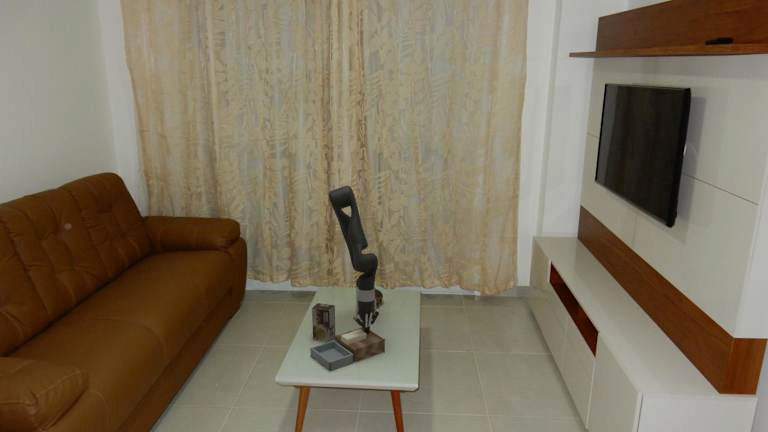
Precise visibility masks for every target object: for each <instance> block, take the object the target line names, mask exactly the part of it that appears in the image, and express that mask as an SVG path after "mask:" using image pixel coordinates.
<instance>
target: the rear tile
mask: <svg viewBox="0 0 768 432" xmlns="http://www.w3.org/2000/svg"><path fill="white" fill-rule="evenodd" d="M351 333H352V334H354V335H355V336H357V341H360V340H363V339H366V333H365V332H363V331H362V330H356V331H353V332H351Z"/></svg>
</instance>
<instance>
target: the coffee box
mask: <svg viewBox="0 0 768 432" xmlns="http://www.w3.org/2000/svg"><path fill="white" fill-rule="evenodd" d="M335 307H336V305H333V304H327V303H318V302H317V303H316V304H315V305H314V306H313V307H311V323H312V340H313V341H318V342H323V343H327V342H330V341H333V340H335V336H336V312H335V309H336V308H335Z"/></svg>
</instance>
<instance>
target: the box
mask: <svg viewBox="0 0 768 432" xmlns="http://www.w3.org/2000/svg"><path fill="white" fill-rule="evenodd" d="M309 350H310V357H311V358H312V359H314V360H315V361H316V362H317V363H319V364H320V365H321V366H323V367H324V368H325V369H326V370H328V371H329V372H332V371H334V370H338V369H340V368H343V367H346V366H349V365H351V364H354V363H355V362H354V354H353V353H351V352H350V351H348V350H347V349H345V348H344V347H343V346H341V345H340V344H338V343H337V342H335V339H333V341H330V342H323V343H321V344H318V345H315V346H312V347H310V348H309Z"/></svg>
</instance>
